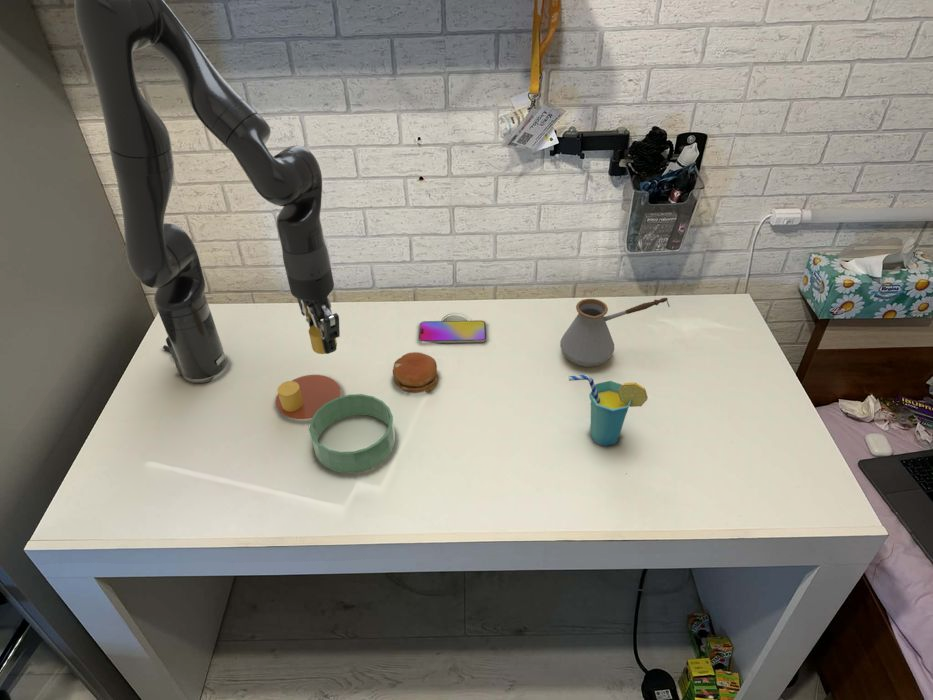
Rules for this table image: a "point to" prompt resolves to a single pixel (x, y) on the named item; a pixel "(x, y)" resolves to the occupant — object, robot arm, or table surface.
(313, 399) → the plate
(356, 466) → the green bowl
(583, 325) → the coffee pot
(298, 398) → the yellow cylinder
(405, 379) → the burger
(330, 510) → the table surface
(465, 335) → the smartphone
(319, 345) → the yellow short cylinder
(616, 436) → the cup
